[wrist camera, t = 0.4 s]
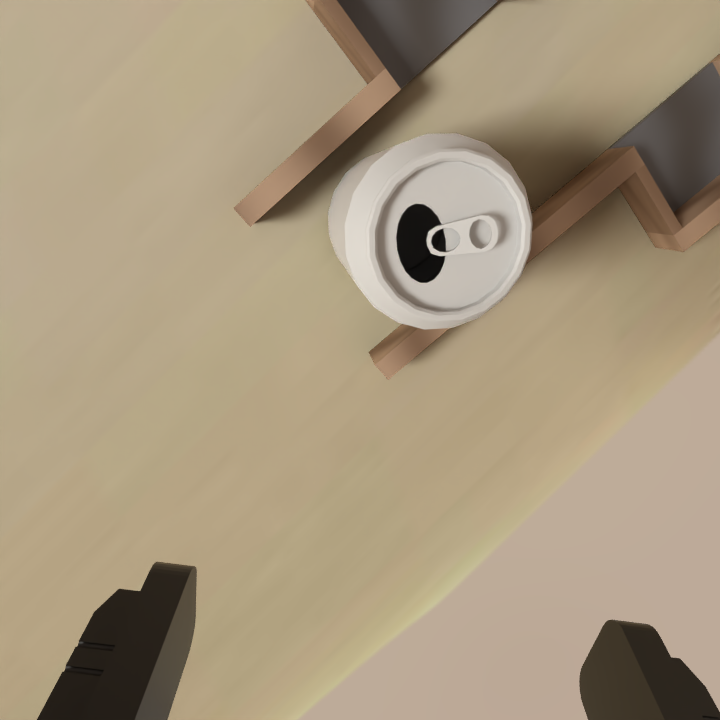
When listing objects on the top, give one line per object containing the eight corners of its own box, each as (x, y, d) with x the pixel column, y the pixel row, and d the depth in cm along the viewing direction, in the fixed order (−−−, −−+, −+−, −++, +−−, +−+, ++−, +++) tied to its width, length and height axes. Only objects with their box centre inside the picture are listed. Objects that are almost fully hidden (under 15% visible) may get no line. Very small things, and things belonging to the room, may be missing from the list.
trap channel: (435, 426, 35) (463, 472, 29) (160, 120, 28) (127, 102, 22) (907, 41, 31) (1043, 9, 26) (730, -428, 24) (866, -619, 18)
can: (313, 164, 29) (329, 150, 18) (447, 138, 30) (544, 108, 18) (340, 298, 32) (369, 359, 20) (464, 272, 32) (559, 318, 21)
